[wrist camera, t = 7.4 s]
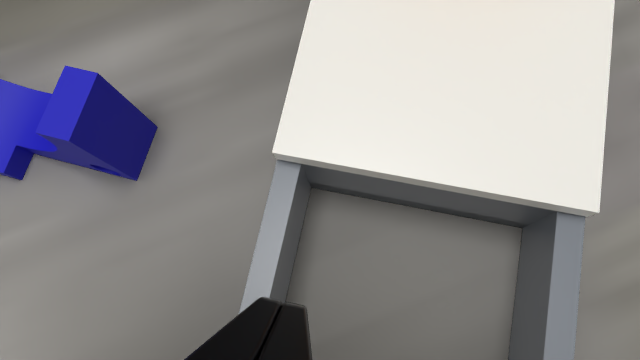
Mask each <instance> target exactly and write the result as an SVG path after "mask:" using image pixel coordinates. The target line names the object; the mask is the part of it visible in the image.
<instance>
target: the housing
mask: <svg viewBox="0 0 640 360" xmlns="http://www.w3.org/2000/svg"><path fill="white" fill-rule="evenodd" d="M311 187H312V188H317V189H322V190H327V191H332V192H338V193H343V194H348V195H353V196H358V197H364V198H369V199H374V200H379V201H384V202H390V203H395V204H400V205H405V206H411V207H416V208H421V209H426V210H431V211H437V212H442V213H447V214H452V215H457V216H463V217H468V218H473V219H478V220H484V221H489V222H494V223H499V224H504V225H510V226H515V227H520V228H523V231H522V240H521V249H520V258H519V267H518V276H517V284H516V293H515V302H514V311H513V320H512V329H511V338H510V347H509V356H508V360H574V351H575V339H576V326H577V314H578V301H579V289H580V276H581V264H582V251H583V238H584V226H585V216H581V215H575V214H570V213H564V212H559V211H554V210H548V209H543V208H537V207H532V206H527V205H521V204H516V203H510V202H505V201H500V200H494V199H489V198H484V197H478V196H473V195H467V194H462V193H457V192H451V191H446V190H440V189H435V188H430V187H424V186H419V185H413V184H408V183H403V182H397V181H392V180H386V179H381V178H376V177H370V176H365V175H359V174H354V173H349V172H343V171H338V170H333V169H327V168H322V167H316V166H311V165H306V164H300V163H295V162H289V161H284V160H279V159H277V163H276V167H275V171H274V175H273V179H272V183H271V187H270V191H269V195H268V199H267V203H266V207H265V211H264V215H263V219H262V223H261V227H260V231H259V235H258V239H257V243H256V247H255V251H254V255H253V259H252V263H251V267H250V271H249V275H248V279H247V283H246V287H245V291H244V295H243V299H242V303H241V307H240V311H239V314H240V313H241V312H242V311H244V310H245V309H246V308H247V307H248V306H250V305H251V304H252V303H253V302H254V301H256V300H257V299H258V298H260V297H267V298H272V299H276V300H280V301H281V302H282V303H283V304H284V303H285V300H286V296H287V291H288V287H289V283H290V278H291V274H292V269H293V265H294V261H295V256H296V252H297V248H298V243H299V239H300V234H301V230H302V226H303V221H304V217H305V213H306V208H307V204H308V199H309V195H310V191H311Z"/></svg>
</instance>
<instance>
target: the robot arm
mask: <svg viewBox="0 0 640 360" xmlns="http://www.w3.org/2000/svg"><path fill="white" fill-rule="evenodd" d="M184 360H312V352H311V343H310V334H309V325H308V315H307V309H306V307H305V306H303V305H298V304H294V303H289V302H285V303H284V304H283V303H282V302H281V301H280V300H276V299H272V298H267V297H260V298H258V299H257V300H256V301H254V302H253V303H252V304H251V305H250V306H248V307H247V308H246V309H245V310H244V311H242V312H241V313H240V314H239V315H238V316H236V317H235V318H234V319H233V320H232V321H230V322H229V323H228V324H227V325H226V326H224V327H223V328H222V329H221V330H219V331H218V332H217V333H216V334H215V335H213V336H212V337H211V338H210V339H209V340H207V341H206V342H205V343H204V344H203V345H201V346H200V347H199V348H198V349H197V350H195V351H194V352H193V353H192V354H191V355H189V356H188V357H187V358H186V359H184Z"/></svg>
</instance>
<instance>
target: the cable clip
mask: <svg viewBox="0 0 640 360" xmlns="http://www.w3.org/2000/svg"><path fill="white" fill-rule="evenodd" d="M156 130H157V126H156V125H155V124H154V123H153V122H151V121H150V120H149V119H148V118H147V117H146V116H145V115H144V114H143V113H142V112H140V111H139V110H138V109H137V108H136V107H135V106H134V105H133V104H132V103H130V102H129V101H128V100H127V99H126V98H125V97H124V96H123V95H122V94H120V93H119V92H118V91H117V90H116V89H115V88H114V87H113V86H112V85H110V84H109V83H108V82H107V81H106V80H105V79H104V78H103V77H102V76H100V75H99V74H98V73H95V72H91V71H86V70H82V69H78V68H73V67H69V66H65V67H64V69H63V72H62V74H61V76H60V78H59V80H58V83H57V85H56V87H55V89H54V92H53V94H50V93H45V92H41V91H37V90H33V89H29V88H26V87H23V86H19V85H16V84H13V83H10V82H7V81H4V80H2V79H0V174H1V175H5V176H8V177H12V178H16V179H19V180H22V179H23V177H24V175H25V172H26V170H27V168H28V166H29V163H30V161H31V159H32V157H33V154H37V155H41V156H45V157H49V158H53V159H56V160H60V161H64V162H68V163H71V164H75V165H79V166H83V167H87V168H90V169H94V170H98V171H102V172H105V173H109V174H113V175H117V176H121V177H124V178H128V179H132V180H136V181H137V179H138V177H139V174H140V172H141V169H142V166H143V164H144V161H145V159H146V156H147V153H148V151H149V148H150V145H151V143H152V140H153V138H154V135H155V132H156Z"/></svg>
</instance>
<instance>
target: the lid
mask: <svg viewBox="0 0 640 360" xmlns="http://www.w3.org/2000/svg"><path fill="white" fill-rule="evenodd" d="M614 3H615V0H311V2H310V6H309V10H308V13H307V17H306V21H305V25H304V29H303V33H302V37H301V41H300V45H299V49H298V53H297V57H296V61H295V65H294V69H293V72H292V76H291V80H290V84H289V88H288V92H287V96H286V100H285V104H284V108H283V112H282V116H281V120H280V124H279V128H278V131H277V135H276V139H275V143H274V147H273V151H272V153H273V155H274V157H275V159H279V160H284V161H289V162H295V163H300V164H306V165H311V166H316V167H322V168H327V169H333V170H338V171H343V172H349V173H354V174H359V175H365V176H370V177H376V178H381V179H386V180H392V181H397V182H403V183H408V184H413V185H419V186H424V187H430V188H435V189H440V190H446V191H451V192H457V193H462V194H467V195H473V196H478V197H484V198H489V199H494V200H500V201H505V202H510V203H516V204H521V205H527V206H532V207H537V208H543V209H548V210H554V211H559V212H564V213H570V214H575V215H581V216H586V217H590V216H593V215H595V214H597V213H599V210H600V196H601V182H602V168H603V155H604V141H605V127H606V113H607V99H608V86H609V72H610V58H611V44H612V30H613V17H614Z"/></svg>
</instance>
